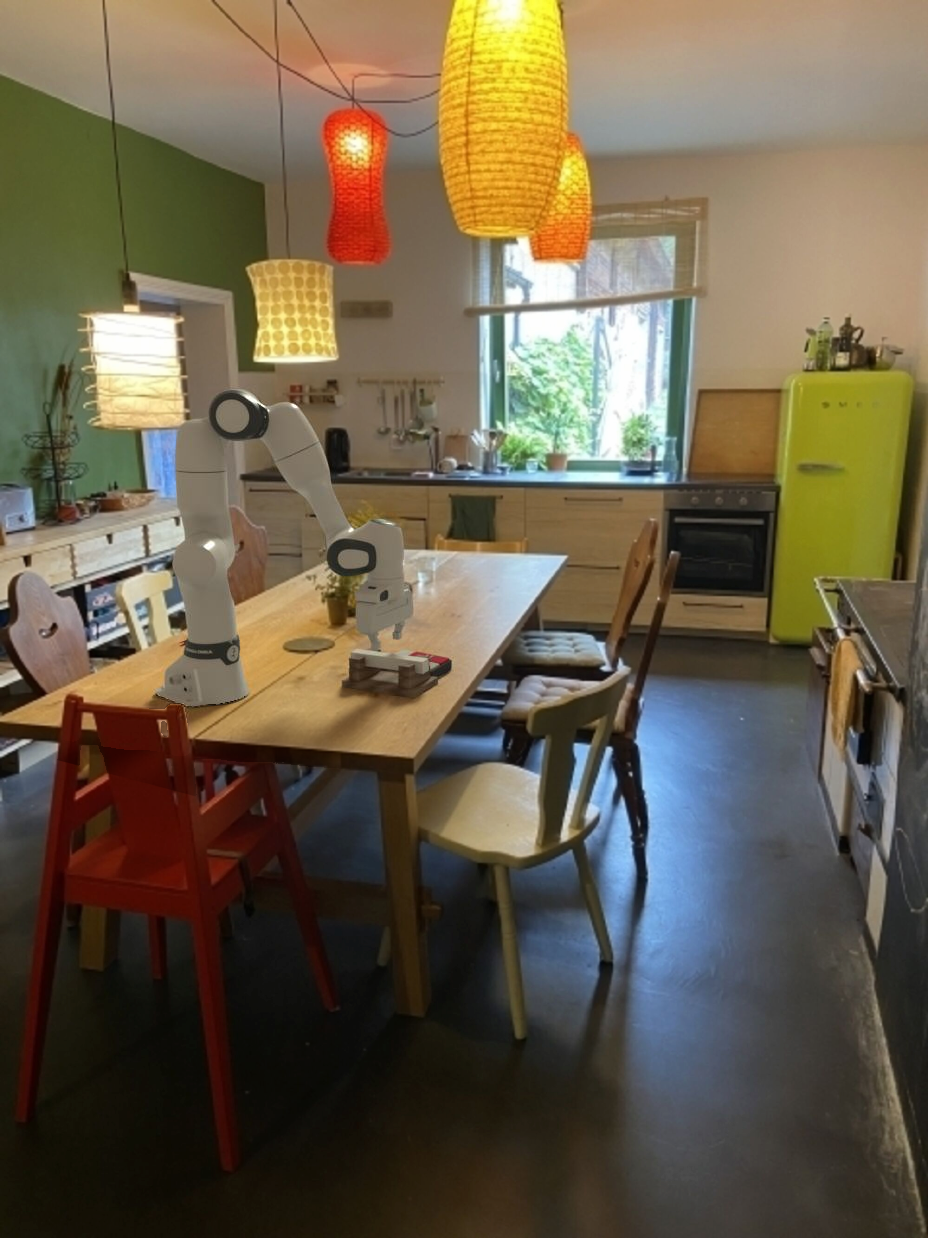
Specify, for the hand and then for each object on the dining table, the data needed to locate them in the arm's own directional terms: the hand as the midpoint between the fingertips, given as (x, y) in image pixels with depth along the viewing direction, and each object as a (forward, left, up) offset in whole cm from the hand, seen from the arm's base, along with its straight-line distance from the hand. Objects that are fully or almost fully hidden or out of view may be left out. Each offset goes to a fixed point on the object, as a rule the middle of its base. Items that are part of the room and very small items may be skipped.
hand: (386, 643), depth 212 cm
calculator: (+1, +12, -11) cm, 16 cm away
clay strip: (0, 0, -6) cm, 6 cm away
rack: (0, 0, -10) cm, 10 cm away
